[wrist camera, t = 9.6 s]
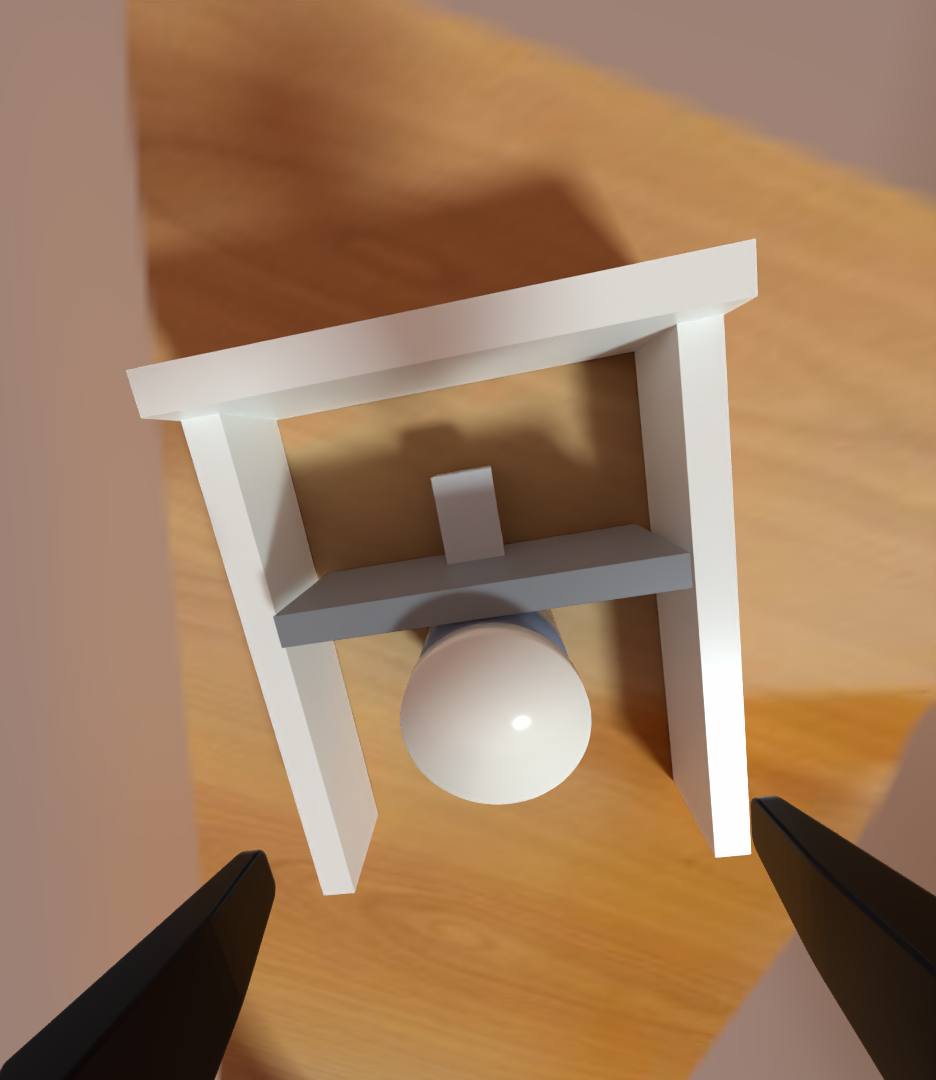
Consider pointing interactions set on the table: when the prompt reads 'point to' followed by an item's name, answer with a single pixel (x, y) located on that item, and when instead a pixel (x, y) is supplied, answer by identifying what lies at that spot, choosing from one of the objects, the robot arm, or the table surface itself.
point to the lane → (449, 360)
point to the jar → (496, 708)
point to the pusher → (482, 573)
